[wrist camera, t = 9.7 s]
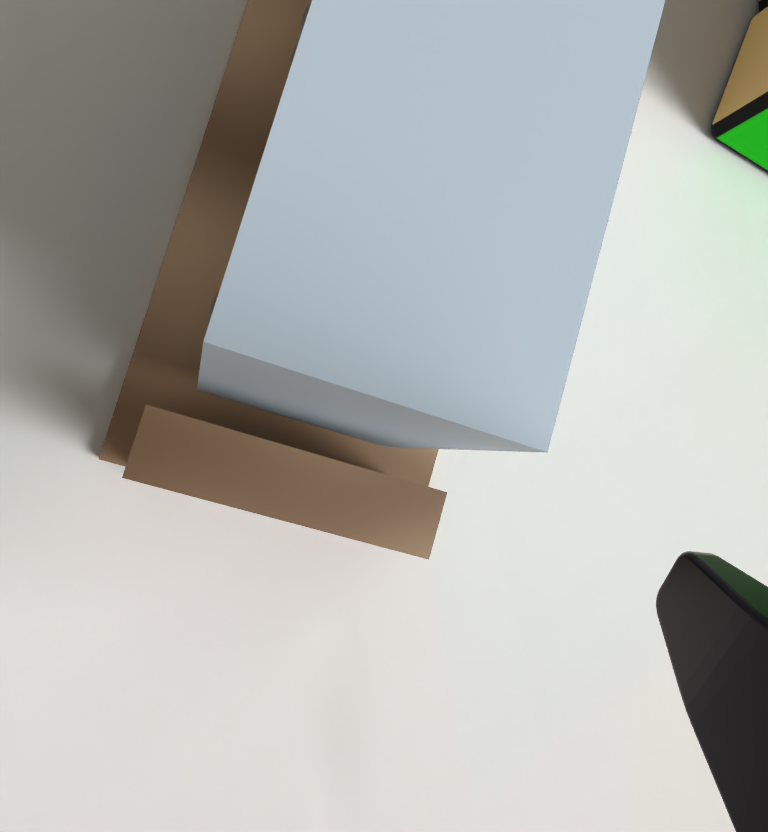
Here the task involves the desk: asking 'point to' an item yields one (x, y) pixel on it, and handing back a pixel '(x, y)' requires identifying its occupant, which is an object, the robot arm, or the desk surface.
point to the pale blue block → (430, 218)
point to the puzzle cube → (747, 95)
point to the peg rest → (186, 328)
